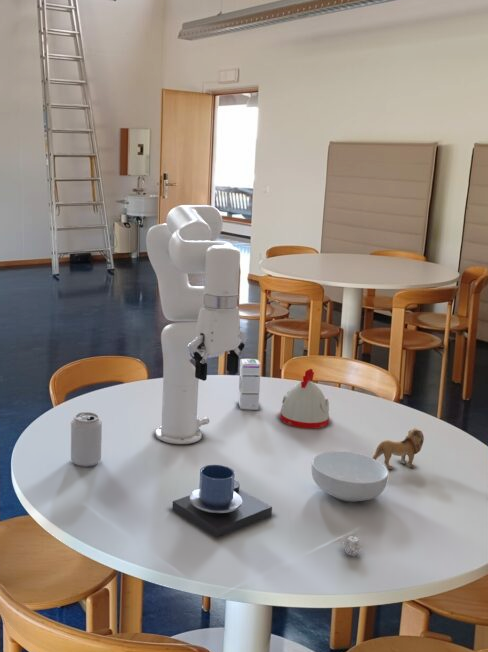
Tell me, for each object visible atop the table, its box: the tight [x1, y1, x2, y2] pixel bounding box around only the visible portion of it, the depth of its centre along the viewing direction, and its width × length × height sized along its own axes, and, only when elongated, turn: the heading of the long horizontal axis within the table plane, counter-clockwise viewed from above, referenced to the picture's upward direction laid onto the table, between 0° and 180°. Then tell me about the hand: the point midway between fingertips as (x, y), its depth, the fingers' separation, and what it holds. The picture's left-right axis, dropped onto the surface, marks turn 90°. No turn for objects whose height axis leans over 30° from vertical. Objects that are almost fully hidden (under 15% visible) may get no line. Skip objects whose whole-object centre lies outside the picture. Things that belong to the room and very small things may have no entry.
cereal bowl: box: [311, 450, 389, 503], centre depth 162 cm, size 17×17×7 cm
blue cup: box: [198, 464, 236, 505], centre depth 150 cm, size 7×7×6 cm
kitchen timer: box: [279, 368, 330, 429], centre depth 208 cm, size 14×14×15 cm
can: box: [70, 411, 103, 467], centre depth 175 cm, size 8×8×12 cm
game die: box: [342, 535, 362, 557], centre depth 139 cm, size 4×4×3 cm
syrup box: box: [237, 358, 261, 411], centre depth 217 cm, size 6×6×14 cm
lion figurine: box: [372, 428, 425, 470], centre depth 179 cm, size 15×5×9 cm, turn 110°
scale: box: [171, 479, 273, 539], centre depth 153 cm, size 16×14×4 cm
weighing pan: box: [189, 488, 242, 513], centre depth 151 cm, size 11×11×1 cm
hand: (216, 375), depth 162 cm, fingers open, 9 cm apart
